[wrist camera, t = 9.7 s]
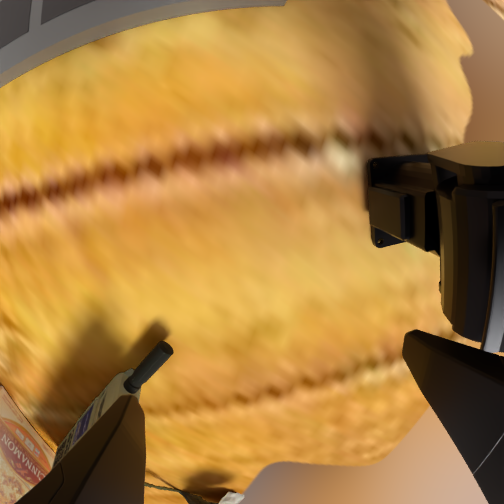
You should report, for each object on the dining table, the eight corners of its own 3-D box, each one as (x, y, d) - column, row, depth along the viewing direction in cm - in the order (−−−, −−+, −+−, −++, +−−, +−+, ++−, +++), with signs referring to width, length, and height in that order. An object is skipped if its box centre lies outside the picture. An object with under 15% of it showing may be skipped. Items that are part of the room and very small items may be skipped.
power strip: (258, -77, 11) (263, -95, 9) (283, 5, 15) (293, -12, 12) (-68, 58, 9) (-82, 55, 6) (-73, 145, 12) (-90, 147, 10)
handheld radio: (54, 444, 24) (149, 323, 20) (77, 456, 25) (185, 346, 22) (43, 485, 18) (136, 387, 14) (69, 498, 19) (184, 412, 15)
